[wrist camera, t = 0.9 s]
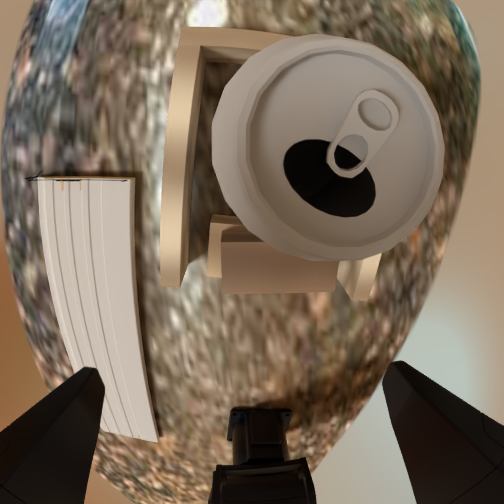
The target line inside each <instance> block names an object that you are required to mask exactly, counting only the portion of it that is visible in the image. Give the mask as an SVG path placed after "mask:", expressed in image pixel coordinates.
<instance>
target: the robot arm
mask: <svg viewBox="0 0 504 504" xmlns="http://www.w3.org/2000/svg"><path fill="white" fill-rule="evenodd" d="M382 386H383V391H384V394H385V398H386V403H387V407H388V411H389V415H390V419H391V423H392V427H393V430H394V432H395V435H396V438H397V441H398V444H399V447H400V450H401V453H402V456H403V459H404V463H405V466H406V469H407V472H408V475H409V479H410V482H411V485H412V489H413V492H414V496H415V499H416V503H417V504H504V426H503V425H501V424H500V423H498V422H496V421H495V420H493V419H491V418H490V417H488V416H487V415H485V414H484V413H481V412H480V411H479V410H477V409H476V408H474V407H473V406H471V405H469V404H468V403H467V402H465V401H463V400H462V399H460V398H459V397H457V396H456V395H454V394H453V393H451V392H450V391H448V390H447V389H445V388H443V387H442V386H440V385H439V384H437V383H436V382H434V381H433V380H431V379H430V378H428V377H427V376H425V375H424V374H422V373H421V372H419V371H418V370H416V369H415V368H413V367H412V366H410V365H408V364H407V363H406V362H404V361H395V362H391V363H390V364H389V366H388V368H387V371H386V373H385V375H384V378H383V381H382ZM104 397H105V385H104V383H103V380H102V378H101V376H100V374H99V371H98V370H97V369H96V368H94V367H88V366H85V367H83V368H81V369H80V370H79V371H78V372H76V373H75V374H74V375H72V376H71V377H70V378H68V379H67V380H66V381H65V382H63V383H62V384H61V385H59V386H58V387H57V388H56V389H54V390H53V391H52V392H50V393H49V394H48V395H47V396H46V397H44V398H43V399H42V400H40V401H39V402H38V403H36V404H35V405H34V406H33V407H31V408H30V409H29V410H28V411H26V412H25V413H24V414H23V415H21V416H20V417H19V418H17V419H16V420H15V421H14V422H12V423H11V424H10V425H9V426H7V427H6V428H5V429H4V430H2V431H1V432H0V504H84V500H85V494H86V489H87V483H88V478H89V474H90V469H91V464H92V460H93V455H94V451H95V447H96V443H97V439H98V434H99V429H100V423H101V416H102V409H103V403H104ZM291 417H292V411H291V410H289V409H286V410H257V409H232V410H231V411H230V417H229V426H228V434H227V440H228V441H231V442H233V465H216V471H213V483H212V488H211V492H210V496H209V500H208V504H317V503H316V494H315V488H314V484H313V481H312V477H311V474H310V471H309V467H308V464H307V460H306V457H303V458H300V459H295V460H290V458H289V452H288V446H287V440H286V434H285V432H286V430H287V427H288V425H289V422H290V420H291Z"/></svg>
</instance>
